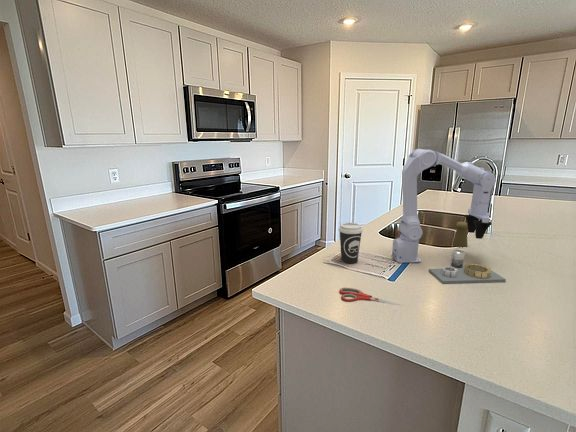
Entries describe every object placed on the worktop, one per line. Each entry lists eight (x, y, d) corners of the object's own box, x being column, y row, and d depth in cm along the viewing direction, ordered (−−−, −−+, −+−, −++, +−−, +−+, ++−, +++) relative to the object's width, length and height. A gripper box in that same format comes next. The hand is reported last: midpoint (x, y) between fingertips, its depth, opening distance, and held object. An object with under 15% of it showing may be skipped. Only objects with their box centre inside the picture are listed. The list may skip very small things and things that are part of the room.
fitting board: (442, 283, 106) (442, 281, 105) (428, 271, 115) (428, 268, 115) (505, 281, 106) (505, 279, 106) (486, 269, 116) (486, 267, 116)
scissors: (409, 309, 91) (410, 305, 91) (337, 302, 96) (338, 298, 96) (406, 296, 99) (406, 292, 98) (339, 290, 103) (339, 286, 103)
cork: (469, 248, 138) (472, 224, 135) (454, 247, 139) (457, 223, 136) (464, 243, 144) (468, 220, 141) (450, 242, 145) (453, 220, 142)
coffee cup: (363, 258, 128) (365, 223, 125) (358, 266, 120) (360, 230, 116) (341, 254, 132) (342, 221, 128) (334, 263, 124) (335, 227, 120)
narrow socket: (446, 277, 108) (446, 272, 107) (438, 271, 113) (439, 266, 112) (460, 277, 108) (461, 271, 108) (452, 271, 113) (453, 266, 112)
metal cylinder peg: (454, 268, 118) (456, 253, 116) (448, 264, 121) (450, 249, 120) (464, 268, 118) (467, 253, 116) (458, 263, 122) (460, 249, 120)
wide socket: (472, 278, 107) (473, 273, 106) (459, 269, 114) (460, 264, 114) (495, 278, 107) (496, 272, 106) (480, 268, 115) (481, 263, 114)
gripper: (500, 206, 113) (494, 241, 116) (483, 198, 127) (478, 230, 130) (479, 205, 114) (473, 240, 117) (464, 198, 128) (460, 229, 131)
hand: (474, 235), depth 124 cm, fingers open, 7 cm apart
